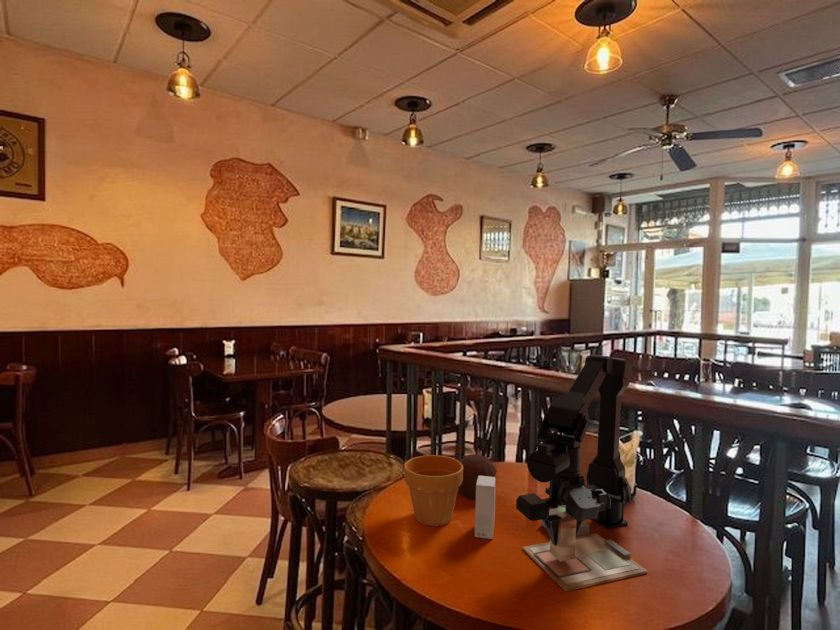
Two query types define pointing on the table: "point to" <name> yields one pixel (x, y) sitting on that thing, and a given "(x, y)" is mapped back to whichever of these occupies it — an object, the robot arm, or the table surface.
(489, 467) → the muffin
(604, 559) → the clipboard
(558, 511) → the button
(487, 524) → the skincare box
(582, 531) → the button collar
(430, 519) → the flower pot
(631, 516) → the table surface
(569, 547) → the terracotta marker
